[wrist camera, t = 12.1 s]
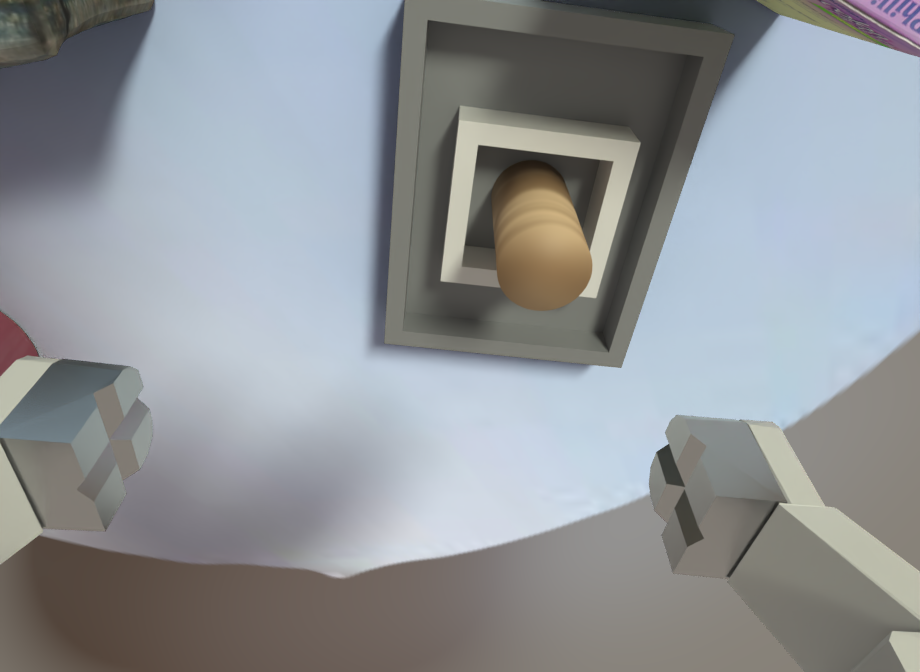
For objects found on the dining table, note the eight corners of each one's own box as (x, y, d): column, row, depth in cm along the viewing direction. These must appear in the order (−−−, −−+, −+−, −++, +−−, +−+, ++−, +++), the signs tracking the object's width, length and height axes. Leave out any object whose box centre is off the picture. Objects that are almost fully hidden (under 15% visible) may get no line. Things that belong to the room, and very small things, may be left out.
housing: (410, -18, 28) (404, -9, 25) (711, 23, 29) (739, 36, 26) (389, 315, 38) (383, 348, 35) (611, 338, 39) (622, 373, 36)
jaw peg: (497, 155, 31) (505, 221, 25) (575, 165, 31) (603, 232, 25) (486, 227, 33) (490, 305, 27) (558, 236, 34) (580, 315, 27)
